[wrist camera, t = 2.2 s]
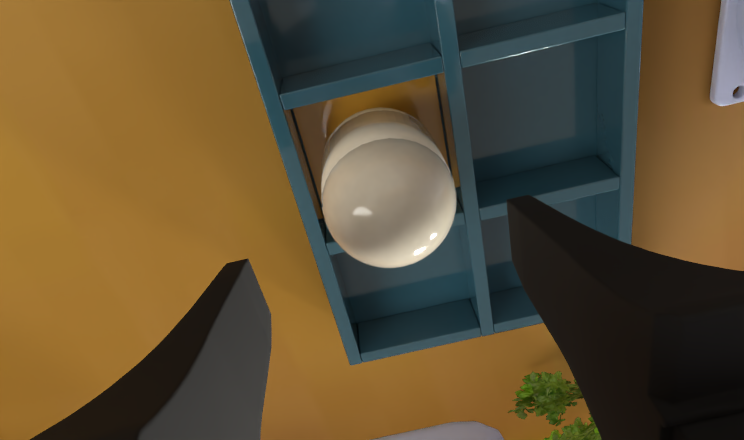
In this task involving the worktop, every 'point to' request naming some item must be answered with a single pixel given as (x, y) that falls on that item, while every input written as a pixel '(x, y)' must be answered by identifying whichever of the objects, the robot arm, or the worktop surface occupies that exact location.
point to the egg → (386, 188)
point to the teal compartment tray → (454, 139)
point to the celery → (554, 404)
